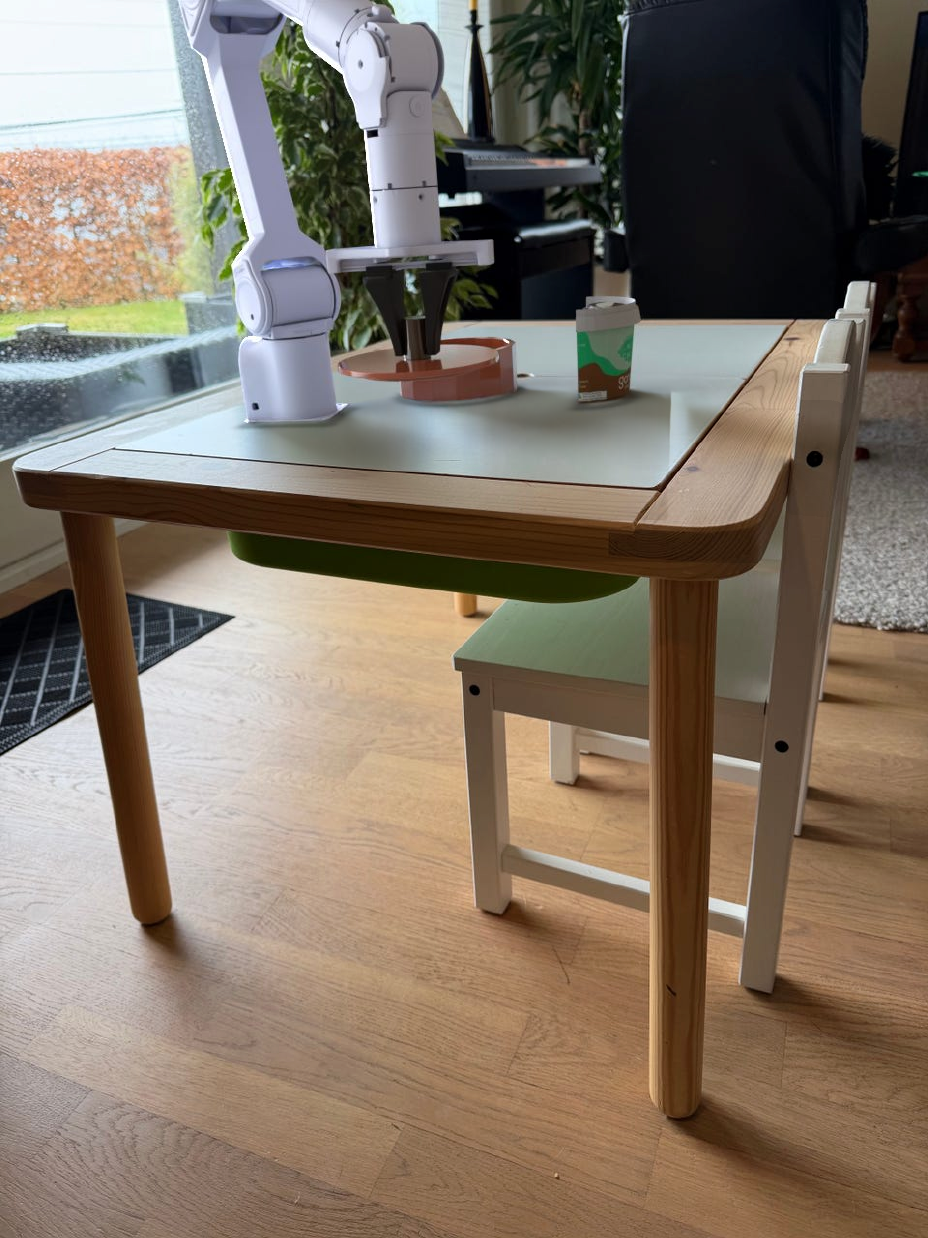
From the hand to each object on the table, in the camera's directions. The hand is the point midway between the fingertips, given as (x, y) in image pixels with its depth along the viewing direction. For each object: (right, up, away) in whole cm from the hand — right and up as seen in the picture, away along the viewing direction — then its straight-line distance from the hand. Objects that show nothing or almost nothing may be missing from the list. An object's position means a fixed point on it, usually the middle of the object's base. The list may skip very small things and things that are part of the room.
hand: (417, 354), depth 85 cm
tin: (+4, +2, +25) cm, 26 cm away
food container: (+20, 0, +17) cm, 26 cm away
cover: (0, -1, 0) cm, 1 cm away
